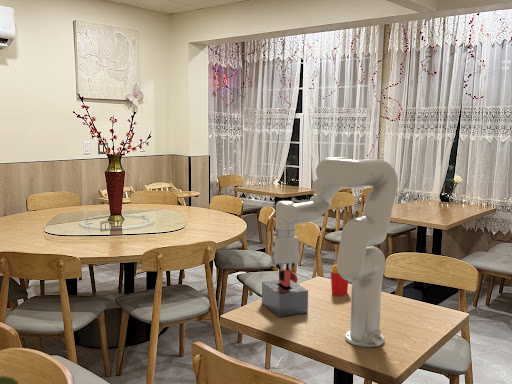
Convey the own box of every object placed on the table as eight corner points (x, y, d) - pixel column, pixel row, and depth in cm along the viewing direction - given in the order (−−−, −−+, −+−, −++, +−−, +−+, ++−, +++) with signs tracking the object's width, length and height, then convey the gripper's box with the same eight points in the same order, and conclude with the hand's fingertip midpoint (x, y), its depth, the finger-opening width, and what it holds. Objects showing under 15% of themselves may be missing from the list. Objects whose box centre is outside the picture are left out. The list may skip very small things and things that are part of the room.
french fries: (335, 296, 206) (335, 266, 205) (328, 293, 210) (329, 264, 208) (351, 293, 211) (352, 263, 210) (344, 290, 215) (345, 261, 213)
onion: (298, 286, 220) (298, 268, 219) (295, 290, 215) (296, 272, 214) (285, 285, 222) (285, 267, 221) (282, 288, 216) (282, 271, 215)
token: (283, 281, 195) (290, 286, 189) (278, 282, 194) (285, 286, 188) (283, 266, 194) (290, 271, 188) (279, 267, 193) (285, 271, 187)
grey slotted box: (307, 313, 188) (308, 290, 186) (279, 317, 183) (279, 294, 182) (288, 299, 202) (288, 278, 201) (261, 303, 198) (262, 282, 196)
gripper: (270, 236, 182) (270, 285, 185) (307, 233, 188) (307, 280, 191) (262, 233, 189) (262, 279, 191) (298, 229, 195) (297, 275, 198)
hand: (284, 279), depth 191 cm, fingers closed on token, 1 cm apart
